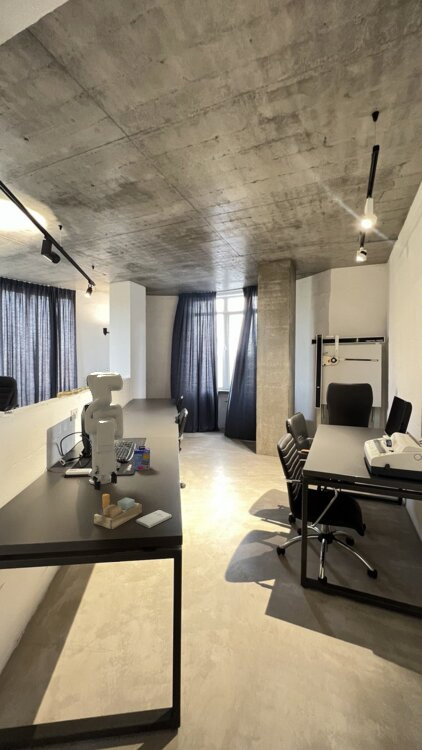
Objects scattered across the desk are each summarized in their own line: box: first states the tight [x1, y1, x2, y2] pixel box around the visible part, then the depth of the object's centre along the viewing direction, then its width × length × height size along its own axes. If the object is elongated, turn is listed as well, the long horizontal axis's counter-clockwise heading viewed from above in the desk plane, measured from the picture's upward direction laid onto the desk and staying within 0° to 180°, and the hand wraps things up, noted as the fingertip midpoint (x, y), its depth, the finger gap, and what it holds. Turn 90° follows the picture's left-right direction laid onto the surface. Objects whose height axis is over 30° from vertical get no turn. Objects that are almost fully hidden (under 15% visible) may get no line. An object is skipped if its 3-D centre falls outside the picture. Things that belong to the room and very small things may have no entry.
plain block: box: [102, 503, 121, 519], centre depth 136 cm, size 5×5×6 cm
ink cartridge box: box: [133, 445, 151, 471], centre depth 205 cm, size 10×6×14 cm, turn 104°
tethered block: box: [101, 493, 136, 511], centre depth 146 cm, size 16×5×6 cm, turn 61°
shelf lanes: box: [93, 502, 143, 530], centre depth 140 cm, size 10×17×4 cm, turn 151°
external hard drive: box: [135, 509, 172, 529], centre depth 138 cm, size 2×8×12 cm
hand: (105, 486), depth 148 cm, fingers open, 9 cm apart
